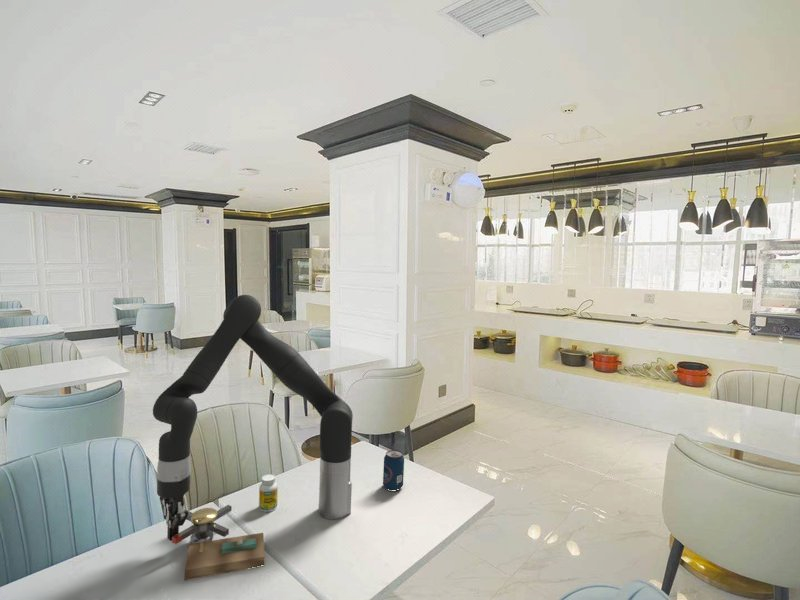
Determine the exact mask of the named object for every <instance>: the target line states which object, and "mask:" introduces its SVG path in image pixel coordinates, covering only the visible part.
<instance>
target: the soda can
mask: <svg viewBox="0 0 800 600" xmlns="http://www.w3.org/2000/svg"><path fill="white" fill-rule="evenodd" d="M404 472H405V457H404V454H403V451H401V450H398V449H392V450H391V449H389V450H387V451H386V452H385V456H383V475H382V484H383V487H384V489H385V488H386V489H389V490H397V489H400V488H401V487H403V486H404V478H405V476H404V475H405V473H404ZM386 489H385V490H386ZM401 489H402V488H401ZM401 489H400V490H401Z"/></svg>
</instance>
